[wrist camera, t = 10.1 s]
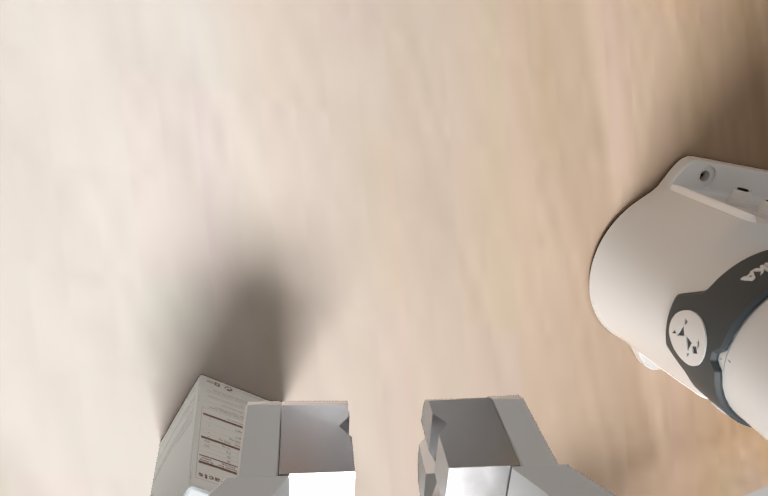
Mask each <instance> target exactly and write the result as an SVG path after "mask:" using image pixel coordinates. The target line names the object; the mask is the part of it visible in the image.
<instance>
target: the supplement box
mask: <svg viewBox="0 0 768 496" xmlns="http://www.w3.org/2000/svg"><path fill="white" fill-rule="evenodd" d="M261 401H268V400H266V399H263V398H261V397H258V396H256V395H253V394H250V393H248V392H246V391H243V390H240V389H238V388H235V387H233V386H230V385H228V384H225V383H222V382H220V381H217V380H214V379H212V378H209V377H207V376H204V375H200V376H199V378H198V380H197V381H196V383H195V384H194V386H193V388H192V389H191V391H190V393H189V394H188V396H187V398H186V400H185V401H184V403H183V405H182V406H181V408H180V410H179V412H178V413H177V415H176V417H175V419H174V420H173V422H172V424H171V426H170V427H169V429H168V431H167V432H166V434H165V436H164V438H163V439H162V441H161V443H160V445H159V452H158V457H157V462H156V468H155V474H154V479H153V485H152V490H151V496H208V495H209V494H210V493H211V492H212V491H213V490H214V489H215V488H216V487H217V486H218V485H219V484H220V483H221V482H222V481H223V480H224V479H225V478H236V475H237V468H238V460H239V453H240V445H241V438H242V430H243V423H244V415H245V407H246V405H247V403H248V402H261Z"/></svg>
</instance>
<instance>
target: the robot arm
mask: <svg viewBox="0 0 768 496" xmlns="http://www.w3.org/2000/svg"><path fill="white" fill-rule="evenodd" d="M703 171H704V174H703V176H702V177H701V178H700V175H701V173H702V172H703ZM589 291H590V298H591V303H592V306H593V309H594V311H595V313H596V315H597V317H598V319H599V320H600V322H601V323H602V324H603V325H604V327H605V328H606V329H608V330H609V331H610V332H611V333H613V334H614V335H616V336H617V337H619V338H621V339H622V340H624V341H625V342H627V343H628V344H629V345H630V347H631V349H632V350H633V352H634V354H635V356H636V358H637V359H638V360H639V362H640V363H642V364H643V365H644V366H646V367H647V368H649V369H652V370H656V369H662V370H664V371H665V372H666V373H668V374H669V375H671V376H672V377H673V378H675V379H676V380H678V381H679V382H680V383H682V384H683V385H685V386H686V387H688V388H689V389H690V390H692V391H693V392H695V393H696V394H698V395H699V396H701V397H703V398H706V399H709V400H710V403H711V404H713V405H714V406H715V407H716V408H717V409H719V410H720V411H721V412H723V413H725V414H726V415H729V416H730V417H731V418H732V419H734V420H735V421H737V422H739V423H741V424H743V425H745V426H749V427H752V428H754V429H755V430H756V431H757V432H758V433H760V434H761V435H762V436H763V437H764V438H765V439H766V440H768V170H764V169H758V168H753V167H748V166H743V165H737V164H732V163H727V162H721V161H716V160H711V159H706V158H700V157H695V156H687V157H684V158H682V159H680V160H679V161H678V162H677V163H676V164H675V165H674V166H673V167H672V168H671V169H670V171H669V172H668V173H667V175H666V176H665V177H664V178H663V180H662V181H661V183H660V184H659V185H658V186H657V187H656V188H655V189H654V190H652V191H651V192H650V193H648V194H647V195H645V196H644V197H642V198H641V199H640V200H638V201H637V202H635V203H634V204H633V205H631V206H630V207H629V208H628V209H627V210H625V211H624V212H623V213H622V214H621V215H620V216H619V217H618V218H617V219H616V221H615V222H614V223H613V224H612V225H611V227H610V228H609V230H608V231H607V232H606V234H605V236H604V237H603V239H602V241H601V243H600V244H599V247H598V249H597V251H596V254H595V256H594V259H593V263H592V267H591V272H590V279H589ZM421 422H422V426H423V430H424V434H425V439H424V440H423V441H422V442H421V443H420V444H419V452H418V483H419V490H420V496H615V495H614V494H612V493H610V492H609V491H607V490H606V489H604V488H603V487H601V486H600V485H598V484H597V483H595V482H594V481H592V480H590V479H589V478H587V477H586V476H584V475H583V474H581V473H580V472H578V471H577V470H575V469H573V468H572V467H570V466H569V465H558V463H557V461H556V459H555V457H554V456H553V454H552V452H551V450H550V448H549V446H548V444H547V442H546V440H545V439H544V437H543V435H542V433H541V431H540V429H539V427H538V425H537V423H536V422H535V420H534V418H533V416H532V414H531V412H530V410H529V408H528V406H527V405H526V403H525V401H524V399H523V398H522V397H521V396H519V395H507V396H489V397H487V398H460V399H427V400H425V401H424V405H423V410H422V419H421ZM354 480H355V468H354V457H353V446H352V437H351V436H350V435H349V408H348V402H347V401H282V403H281V402H280V401H261V402H248V403H247V405H246V407H245V415H244V423H243V430H242V438H241V445H240V453H239V460H238V468H237V475H236V478H225V479H224V480H223V481H222V482H221V483H220V484H219V485H218V486H217V487H216V488H215V489H214V490H213V491H212V492H211V493H210V494H209V495H208V496H354Z"/></svg>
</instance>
